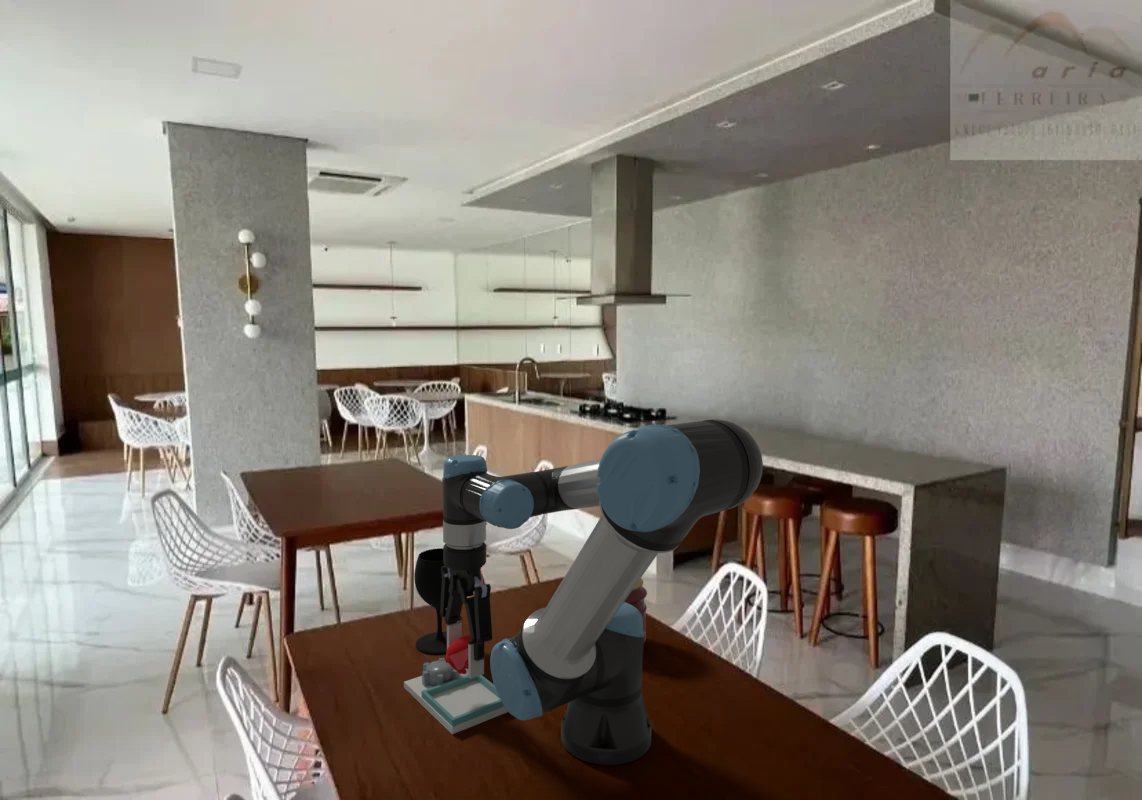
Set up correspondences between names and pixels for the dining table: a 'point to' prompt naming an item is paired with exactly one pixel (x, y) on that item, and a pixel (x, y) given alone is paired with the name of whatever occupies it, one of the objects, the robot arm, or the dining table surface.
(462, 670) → the cap
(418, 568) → the wine glass
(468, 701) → the carrier board
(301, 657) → the dining table surface
